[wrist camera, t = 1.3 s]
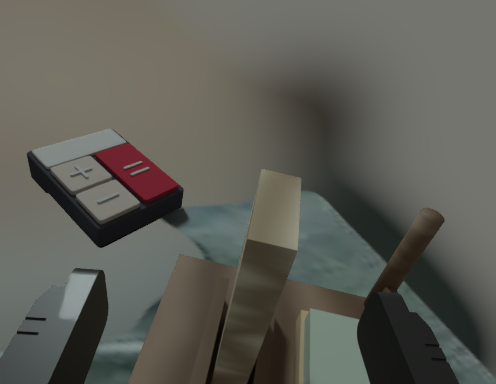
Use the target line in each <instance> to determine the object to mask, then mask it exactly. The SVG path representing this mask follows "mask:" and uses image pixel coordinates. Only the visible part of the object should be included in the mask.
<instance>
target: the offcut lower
mask: <svg viewBox="0 0 496 384" xmlns="http://www.w3.org/2000/svg"><path fill="white" fill-rule="evenodd" d="M308 312H309V311H305V310H301V311H300V313H299V316H298V318H297V320H296V330H295V352H294V374H293V384H303V356H304V320H305V318H306V316H307V314H308Z"/></svg>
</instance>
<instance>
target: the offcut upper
mask: <svg viewBox="0 0 496 384" xmlns="http://www.w3.org/2000/svg"><path fill="white" fill-rule="evenodd" d="M358 322H359V319H355V318H350V317H346V316H342V315H338V314H333V313H329V312H325V311H320V310H316V309H312V308H310V310H309V312H308V314H307V316H306V318H305V320H304V356H303V384H370V382H369V378H368V375H367V372H366V368H365V365H364V362H363V358H362V355H361V352H360V348H359V345H358V341H357V326H358Z"/></svg>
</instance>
